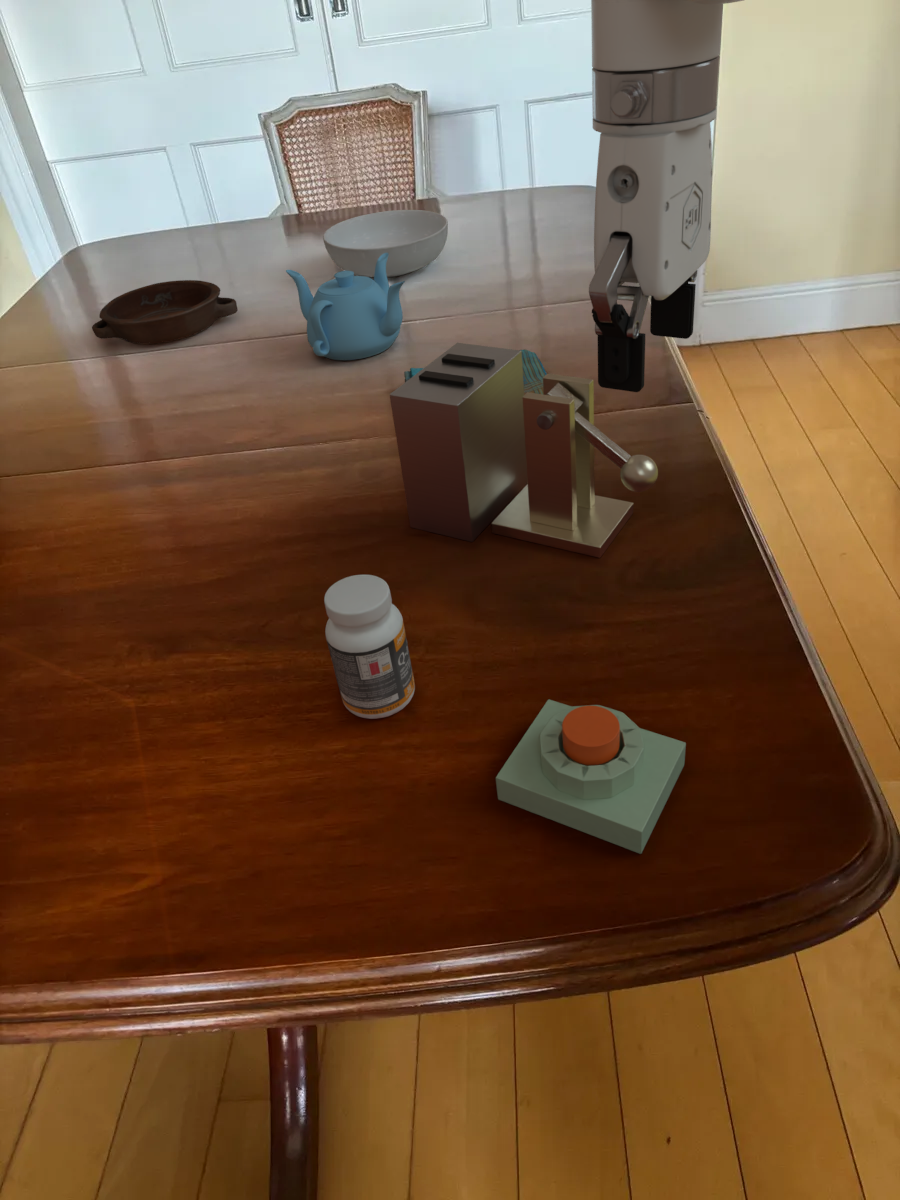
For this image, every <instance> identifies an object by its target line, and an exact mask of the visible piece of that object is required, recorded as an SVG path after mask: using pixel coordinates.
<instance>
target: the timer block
mask: <svg viewBox="0 0 900 1200" xmlns="http://www.w3.org/2000/svg"><path fill="white" fill-rule="evenodd" d="M583 706H584V705H574V706H573V705H568V704H565V703H562V702H560V701H555V700H553V699H550V698H549V699H547V700H546V701H545V704H544V705H543V706H542V708H541V709H540V710H539V713H538V714H537V715H536V717H535V718H534V720H533V721H532V723H531V724H530V726H529V727H528V728H527V730H526V732H525V733H524V734H523V736H522V737H521V739H520V741H519V742H518V744H517V745H516V747H515V748H514V750H513V751H512V752H511V754H510V755H509V757H508V759H507V760H506V761H505V763H504V764H503V766H501V769H500V770H499V772H498V773H497V775H496V776H495V785H496V794H497V795H496V796H497V800H498V801H501V802H503V803H507V804H508V805H512V806H515V807H517V808H520V809H522V810H525V811H527V812H530V813H532V814H535V815H538V816H541V817H543V818H545V819H548V820H551V821H554V822H555V823H558V824H560V825H564V826H566V827H569V828H572V829H575V830H577V831H579V832H582V833H585V834H587V835H590V836H593V837H595V838H598V839H600V840H603V841H605V842H608V843H611V844H614V845H616V846H618V847H622V848H624V849H626V850H628V851H631V852H633V853H636V854H639V855H641V854H643V851H644V850H645V847H646V845H647V843H648V841H649V839H650V837H651V835H652V833H653V830H654V829H655V827H656V824H657V823H658V820H659V819H660V816H661V814H662V812H663V811H664V808H665V805H666V804H667V801H668V800H669V798H670V795H671V794H672V791H673V790H674V788H675V786H676V783H677V781H678V779H679V777H680V775H681V773H682V771H683V769H684V767H685V763H686V749H687V748H686V747H687V743H686V741H682V740H678V739H676V738H672V737H669V736H666V735H662V734H660V733H656V732H654V731H650V730H648V729H644V728H641V727H639V726H638V725H637V724H636V723H635V722H634V721H633V720H632V719H631V718H630V717H628V716H627V715H626V714H625V713H624V712H622V711H620V710H617V709H613V708H611V707H607V706H604V705H600V704H589V705H587V704H586V705H585V706H598V707H602V708H605V709H607V710H609V711H610V712H612V713H613V714H614V715H615V716H616V718H617V719H618V721H619V725H620V742H619V750H618V752H617V754H616V755H615V757H614V758H612V759H611V760H610V761H608V762H606V763H603V764H600V765H584V764H580V763H578V762H576V761H574V760H572V759H571V758H570V757H569V756H568V755H567V754H566V753H565V751H564V748H563V734H562V723H563V720H564V718H565V717H566V715H567V714H568V713H569V712H571V711H572V710H574V709H576V708H579V707H583Z"/></svg>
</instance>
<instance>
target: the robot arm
mask: <svg viewBox="0 0 900 1200" xmlns="http://www.w3.org/2000/svg"><path fill="white" fill-rule="evenodd" d="M742 1H744V0H590V8H591V9H590V10H591V11H590V12H591V13H590V14H591V17H590V18H591V67H592V68H591V91H592V92H591V96H592V97H591V99H592V102H591V103H592V106H591V108H592V109H591V111H592V129H593V130H594V131H595V132H598V133H600V134H599V143H598V151H597V153H598V154H597V163H596V165H597V166H596V179H595V197H594V222H593V225H594V226H593V262H594V263H593V264H594V274H593V276H592V278H591V281H590V283H589V287H588V294H589V298H590V302H591V306H592V309H591V314H592V315H591V316H592V319H593V322H594V333H595V335H597V384H598V386H599V387H601V388H604V389H610V390H617V391H625V392H632V393H639V392H641V391H642V390H643V388H644V387H645V372H646V371H645V365H646V333H642V332H640V331H641V328H642V325H643V321H644V317H645V313H646V309H647V306H648V301H649V298H650V318H649V319H650V320H649V333H651V335H652V336H656V337H665V338H675V339H682V340H688V339H689V338H691V336H692V335H693V333H694V324H695V323H694V320H695V304H696V287H697V286H696V285H697V284H696V283H695V281H696V280H697V276H698V271H699V270H698V269H700V268H701V267H702V266H703V265H704V263H705V262H706V261H707V259H708V257H709V254H710V252H711V251H710V250H711V239H712V237H711V235H712V234H711V232H712V199H713V198H712V197H713V196H712V195H713V194H712V193H713V190H712V189H713V186H712V185H713V148H712V146H713V145H712V143H713V142H712V128H711V123H712V122H713V121H715V120H716V118H717V105H718V91H719V75H720V59H721V57H720V55H721V45H722V44H721V42H722V27H723V13H724V11H723V10H724V5H725V4H732V3H738V2H742ZM625 283H629V284H631V283H633V284H638V285H639V286H635V285H634V286H633V285H624V284H625ZM618 301H628V302H632V305H631V309H630V312H629V314H628V312H627V310H626V309H625V306H624V305H623V304H621V303H618Z"/></svg>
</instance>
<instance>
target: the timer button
mask: <svg viewBox="0 0 900 1200" xmlns="http://www.w3.org/2000/svg"><path fill="white" fill-rule="evenodd" d="M582 706H583V707H579V708H576V709H574V710H572V711H571V712H569V713H568V714H567V715H566V717H565V718H564V720H563V723H562V734H563V748H564V751H565V753H566V754H567V755H568V756H569V757H570V758H571V759H572V760H574V761H576V762H578V763H580V764H584V765H600V764H603V763H606V762H608V761H610V760H611V759H612V758H614V757H615V755H616V754H617V752H618V750H619V742H620V725H619V721H618V719H617V718H616V716H615V715H614V714H613V713H612V712H610V711H609V710H607V709H605V708H602V707H598V706H586V705H582Z"/></svg>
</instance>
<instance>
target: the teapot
mask: <svg viewBox="0 0 900 1200" xmlns="http://www.w3.org/2000/svg"><path fill="white" fill-rule="evenodd" d="M388 255H389V254H388V253H384V254H382V255H381V256H380V257H379V258H378V260H377V263H376V267H375V274H374V277H373V278H372V277H365V276H359V275H355V274H354V272H353V271H345V270H341V271H338V272H336V273H334V275H333V276H334V278H332V279H330V280H328V281H325V282H323V283H322V284H320V286H318V287H317V290H316V291H315V294H314V295H313V293H312V292H311V289H310V287H309V284H308V282H307V280H306V279H305V277H304V276H303V275H302V274H301V273H299V272H298V271H296V270H293V269H286V270H285V273H287V275H289V277H290V278H291V279H292V280H293V282H294V284H295V286H296V289H297V293H298V301H299V308H300V311H301V313H302V317H303V318H304V319H305V321H306V337H307V342H308V344H309V345H310V347H311V348H312V352H313V353H314V355H316V356H318V357H324V358H326V359H329V360H335V361H354V360H361V359H366V358H370V357H373V356H376V355H378V354H381V353H383V352H385V351H386V350H389V348H390V347H391V346H392V345H393V344H394V343H395V341H396V339H397V338H398V336H399V334H400V332H401V328H402V327H401V326H402V323H403V318H404V317H403V316H404V315H403V308H402V303H401V300H400V291H401V288H402V286H403V285H404V283H405V282H406V281H405V280H402V281H399V282H395V283H392V284H391V285H390V283H389V280H388V279H389V278H387V274H386V262H387V259H388Z"/></svg>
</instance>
